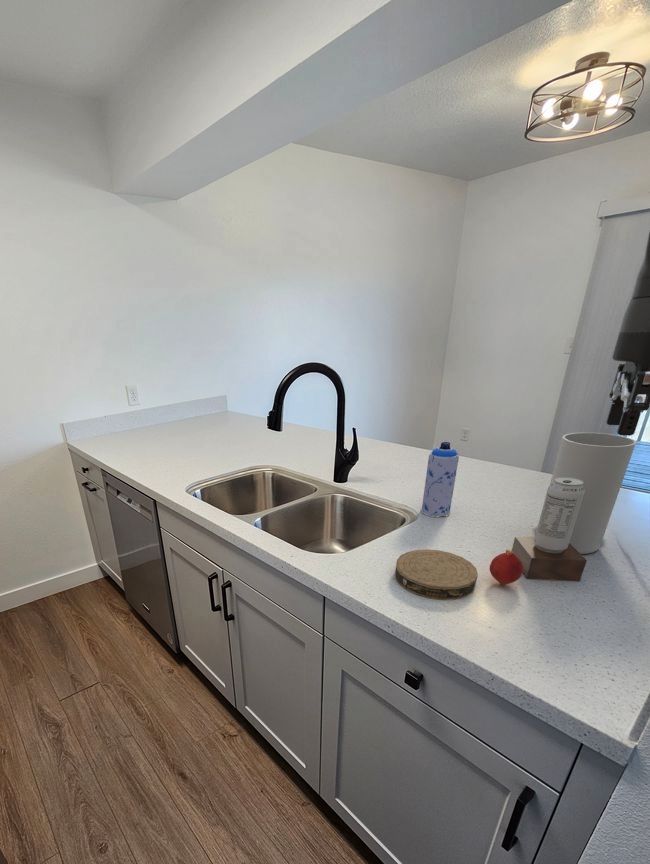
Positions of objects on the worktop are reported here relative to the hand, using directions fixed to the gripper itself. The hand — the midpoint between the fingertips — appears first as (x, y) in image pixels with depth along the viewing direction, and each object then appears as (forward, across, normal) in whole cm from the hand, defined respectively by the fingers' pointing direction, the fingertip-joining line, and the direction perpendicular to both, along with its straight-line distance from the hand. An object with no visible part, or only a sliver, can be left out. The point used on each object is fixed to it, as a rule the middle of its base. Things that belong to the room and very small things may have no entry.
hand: (618, 429), depth 77 cm
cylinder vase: (+31, +18, -1) cm, 36 cm away
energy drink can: (+26, +2, +5) cm, 26 cm away
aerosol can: (+30, +28, +29) cm, 50 cm away
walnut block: (+31, +3, +5) cm, 31 cm away
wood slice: (+31, -10, +26) cm, 42 cm away
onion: (+31, -8, +13) cm, 34 cm away
